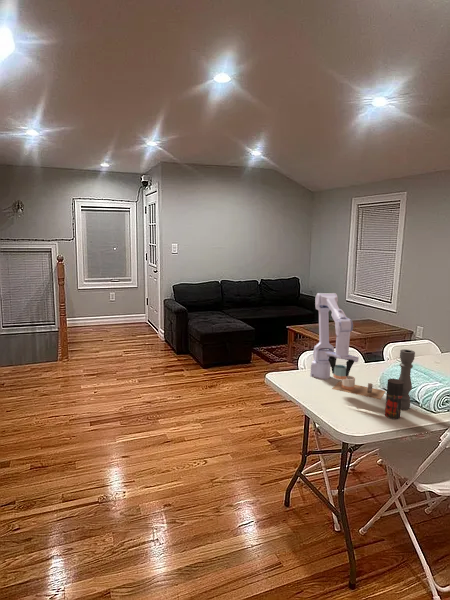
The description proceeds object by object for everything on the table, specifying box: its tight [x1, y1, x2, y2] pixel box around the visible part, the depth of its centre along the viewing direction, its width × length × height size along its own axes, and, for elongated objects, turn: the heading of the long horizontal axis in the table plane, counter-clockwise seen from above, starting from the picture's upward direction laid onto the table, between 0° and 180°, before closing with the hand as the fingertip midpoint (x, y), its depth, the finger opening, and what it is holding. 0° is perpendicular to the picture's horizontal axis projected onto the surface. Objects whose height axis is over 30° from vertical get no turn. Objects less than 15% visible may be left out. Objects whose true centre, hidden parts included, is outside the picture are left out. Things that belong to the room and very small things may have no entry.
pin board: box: [331, 381, 386, 400], centre depth 192 cm, size 22×12×5 cm, turn 59°
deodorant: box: [384, 378, 404, 420], centre depth 167 cm, size 6×6×15 cm
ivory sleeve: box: [341, 375, 356, 390], centre depth 194 cm, size 6×6×5 cm
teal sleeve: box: [332, 364, 347, 381], centre depth 186 cm, size 6×6×5 cm
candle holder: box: [397, 349, 416, 411], centre depth 175 cm, size 6×6×25 cm
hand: (340, 374), depth 186 cm, fingers closed on teal sleeve, 6 cm apart
